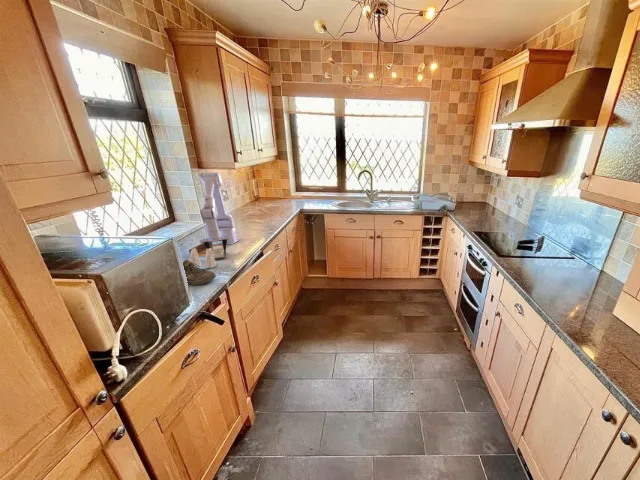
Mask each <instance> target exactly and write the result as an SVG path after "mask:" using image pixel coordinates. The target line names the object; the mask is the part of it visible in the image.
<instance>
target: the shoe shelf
mask: <svg viewBox="0 0 640 480" xmlns="http://www.w3.org/2000/svg"><path fill="white" fill-rule="evenodd" d="M216 246H222V248H223V244H213V242H210V247H211V250H212V252H213V247H216ZM229 246H230V244H227V245H226V248H227V247H229ZM194 248H195V249H196V250H197V253H198V256H199V257H206V252H207V248H206V247H205V245H204V243H203V244H201V243H199V244H198V245H196V246H194V247H192V248H190V249H188V252H189V255H190V254H191V250H192V249H193V250H194ZM223 250H224V248H223ZM213 255H214V254H213Z"/></svg>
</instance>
